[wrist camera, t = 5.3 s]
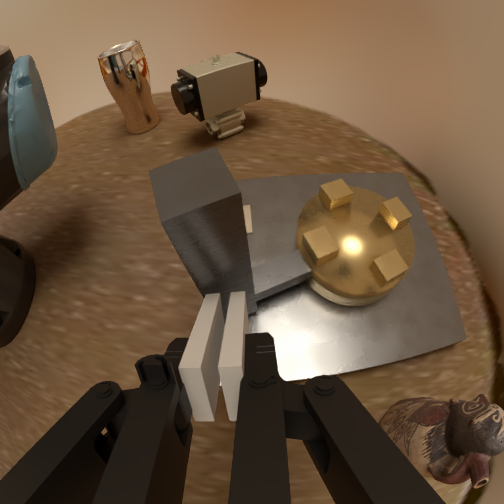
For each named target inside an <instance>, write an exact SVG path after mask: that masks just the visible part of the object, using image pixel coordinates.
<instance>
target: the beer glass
mask: <svg viewBox="0 0 504 504" xmlns="http://www.w3.org/2000/svg"><path fill="white" fill-rule="evenodd" d="M97 58H98V61H99V65H100V69H101V73H102V76H103V79H104V82H105V84H106V86H107V88H108V90H109V92H110V94H111V95H112V97H113V98H114V100H115V101H116V103H117V104H118V106H119V108H120V109H121V111H122V113H123V116H124V119H125V124H126V129H127V132H128V133H130V134H140V133H144V132H146V131H148V130H150V129H152V128H153V127H155V126H156V125H157V124H158V123H159V121H160V115H159V113H158V111H157V110H156V108H155V106H154V103H153V100H152V96H151V88H150V76H149V69H148V65H147V62H146V58H145V55H144V53H143V50H142V47H141V45H140V42H139V40H132V41H128V42H124V43H122V44H119V45H117V46H114V47H112V48H110V49H108V50H107V51H104V52H103V53H101V54H100V55H99V56H98V57H97Z"/></svg>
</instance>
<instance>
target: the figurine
mask: <svg viewBox="0 0 504 504" xmlns="http://www.w3.org/2000/svg"><path fill="white" fill-rule="evenodd" d="M379 425H380V426H381V428H382V429H383V430H384V431H385V432H386V434H387V435H388V436H389V437H390V438H391V440H392V441H393V442H394V443H395V444H396V446H397V447H398V448H399V449H400V450H401V452H402V453H403V454H404V455H405V456H406V457H407V459H408V460H409V461H410V462H411V463H412V465H413V466H414V467H415V468H416V469H417V470H418V472H419V473H420V474H421V475H422V476H423V477H433V478H434V479H435V480H437V481H440V482H442V483H446V484H460V483H463V482H465V481H467V480H468V479H470V478H471V482H472V487H473V488H479V487H481V486H483V485H485V484H486V483H487V482H488V481H489V470H488V460H490V459H491V458H492V457H493V456H495V455H498V454H500V453H501V452H502V451H504V411H503V409H502V408H500V407H499V406H498V405H496V404H490V403H489V402H488V400H487V398H486V397H485V396H484V395H483V394H480V395H479V396H478V397H477V398H475V399H474V400H472V401H463V400H460V399H458V398H451V399H450V402H445V401H438V400H435V399H433V398H426V397H421V398H411V399H405V400H401V401H399V402H397V403H396V404H395V405H393V406H392V407H391V408H390V409H389V410H388V412H387V413H386V414H385V415H384V417H383V418H382V420H381V422H380V424H379ZM449 472H450V473H449Z"/></svg>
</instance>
